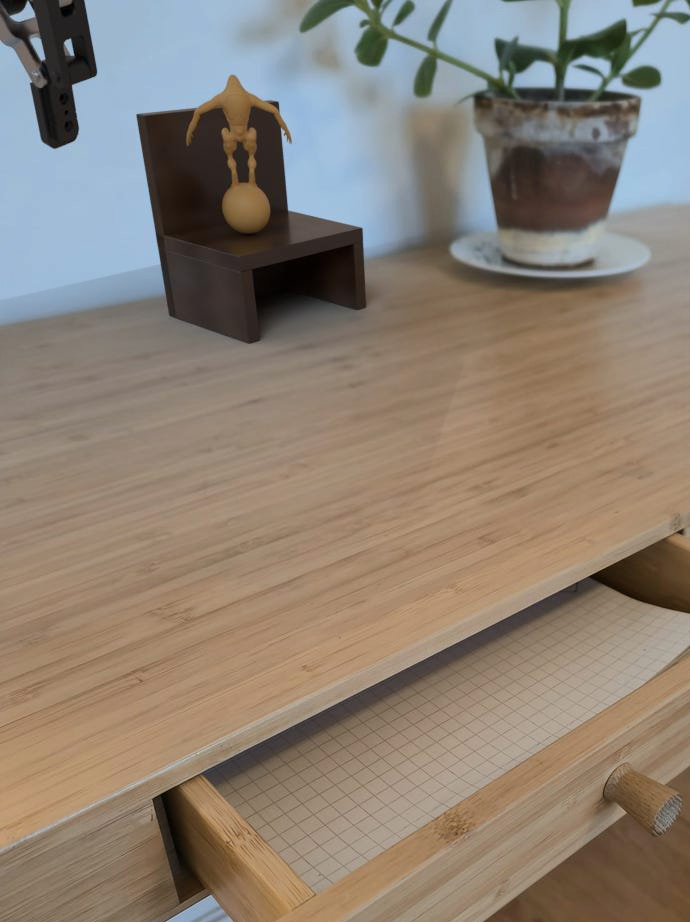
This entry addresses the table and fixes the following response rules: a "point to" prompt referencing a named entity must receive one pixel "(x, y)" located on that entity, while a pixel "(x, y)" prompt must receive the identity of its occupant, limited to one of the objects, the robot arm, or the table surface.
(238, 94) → the figurine
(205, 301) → the wooden miniature chair
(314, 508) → the table surface
